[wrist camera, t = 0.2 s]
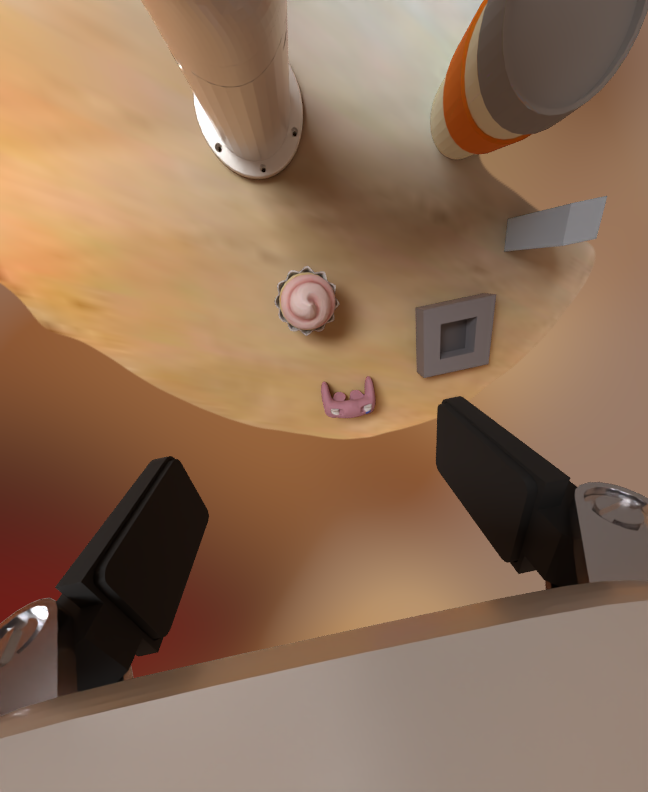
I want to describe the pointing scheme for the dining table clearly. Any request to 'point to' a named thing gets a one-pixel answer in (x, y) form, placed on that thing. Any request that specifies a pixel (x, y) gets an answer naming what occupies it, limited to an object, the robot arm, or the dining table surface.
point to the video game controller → (349, 401)
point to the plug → (555, 226)
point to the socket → (454, 334)
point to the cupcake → (306, 300)
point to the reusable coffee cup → (529, 69)
